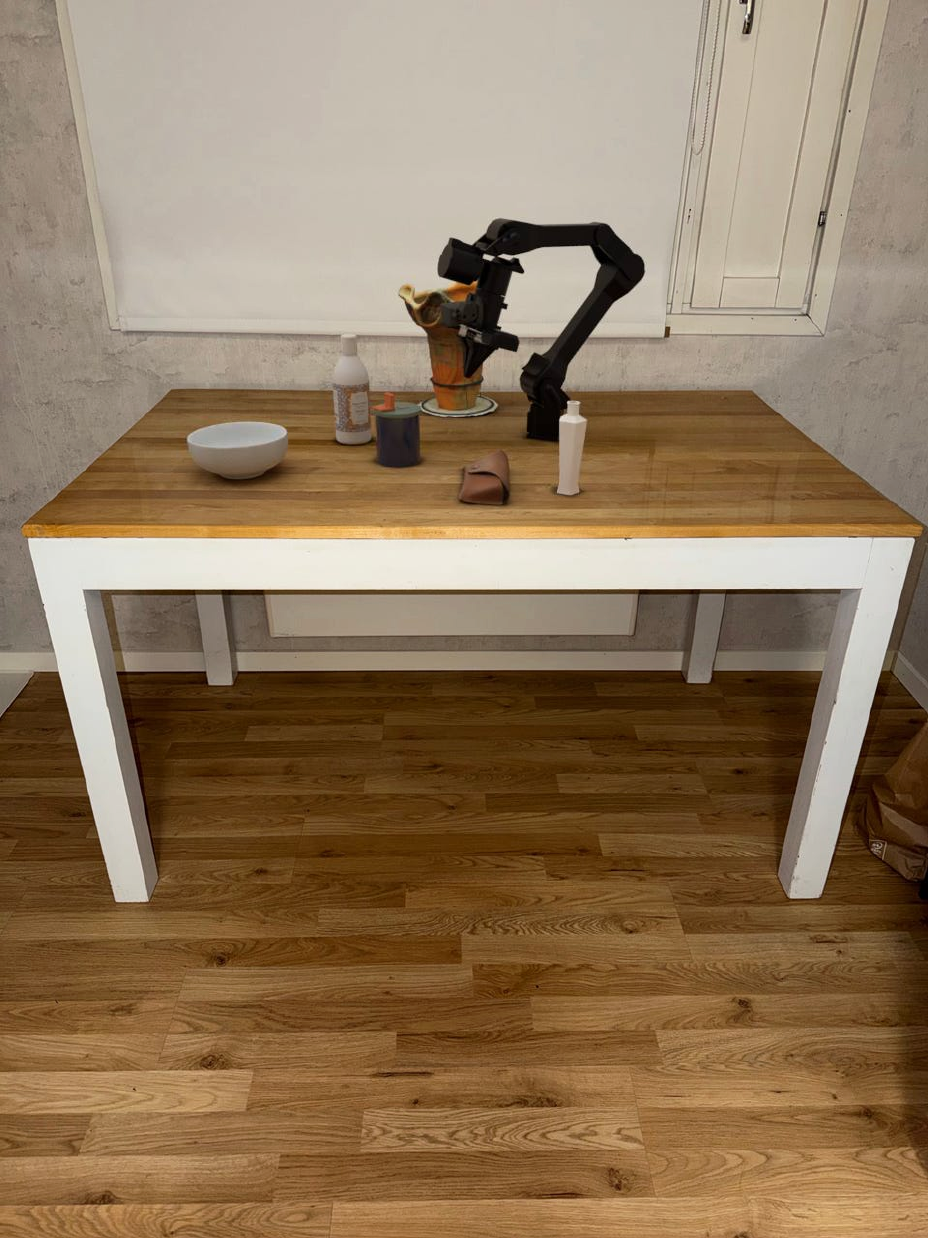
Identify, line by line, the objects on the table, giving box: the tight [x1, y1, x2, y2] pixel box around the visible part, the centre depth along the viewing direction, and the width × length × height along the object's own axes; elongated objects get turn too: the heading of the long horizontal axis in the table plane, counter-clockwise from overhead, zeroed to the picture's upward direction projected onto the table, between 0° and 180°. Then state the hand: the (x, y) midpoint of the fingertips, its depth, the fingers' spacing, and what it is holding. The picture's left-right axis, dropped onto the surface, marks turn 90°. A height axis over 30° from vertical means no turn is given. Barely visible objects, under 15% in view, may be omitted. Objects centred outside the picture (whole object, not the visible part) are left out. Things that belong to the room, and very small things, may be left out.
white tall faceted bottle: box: [556, 400, 588, 496], centre depth 142 cm, size 5×4×15 cm
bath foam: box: [332, 333, 372, 446], centre depth 165 cm, size 7×7×20 cm
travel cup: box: [372, 401, 422, 468], centre depth 157 cm, size 9×9×10 cm
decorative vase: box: [397, 281, 501, 418], centre depth 186 cm, size 21×23×28 cm
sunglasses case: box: [458, 448, 511, 506], centre depth 146 cm, size 18×7×7 cm
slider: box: [372, 391, 395, 412], centre depth 153 cm, size 3×3×3 cm
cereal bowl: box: [186, 421, 289, 480], centre depth 151 cm, size 17×17×7 cm
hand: (466, 377), depth 162 cm, fingers closed
